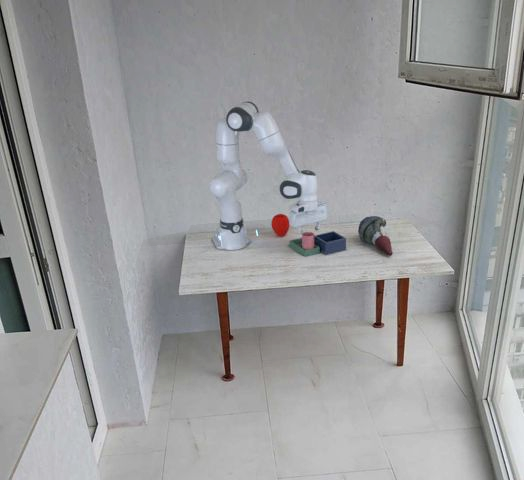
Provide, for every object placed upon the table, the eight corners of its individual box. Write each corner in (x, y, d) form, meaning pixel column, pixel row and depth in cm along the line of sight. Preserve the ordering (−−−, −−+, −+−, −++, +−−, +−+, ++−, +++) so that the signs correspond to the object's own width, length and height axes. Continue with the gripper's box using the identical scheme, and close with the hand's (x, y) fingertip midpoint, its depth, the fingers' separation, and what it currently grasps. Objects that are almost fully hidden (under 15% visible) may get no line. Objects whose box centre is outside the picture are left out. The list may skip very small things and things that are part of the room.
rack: (289, 245, 295) (289, 240, 294) (303, 242, 298) (303, 237, 297) (305, 256, 283) (305, 250, 281) (319, 252, 286) (319, 247, 284)
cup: (299, 251, 289) (299, 233, 284) (310, 248, 291) (310, 231, 286) (305, 255, 284) (305, 237, 279) (316, 252, 286) (316, 234, 281)
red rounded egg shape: (272, 232, 313) (271, 211, 307) (289, 232, 312) (289, 210, 306) (271, 239, 305) (270, 217, 298) (289, 238, 304) (289, 216, 297)
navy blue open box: (313, 247, 293) (313, 235, 289) (333, 242, 297) (333, 231, 293) (325, 254, 283) (325, 243, 280) (345, 250, 287) (346, 238, 284)
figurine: (380, 276, 293) (405, 262, 285) (364, 266, 281) (390, 252, 272) (366, 230, 304) (390, 216, 296) (350, 219, 292) (374, 204, 284)
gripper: (323, 199, 280) (323, 226, 288) (287, 207, 273) (288, 234, 281) (330, 202, 275) (329, 229, 283) (293, 210, 268) (294, 237, 276)
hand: (308, 231), depth 282 cm, fingers open, 8 cm apart
